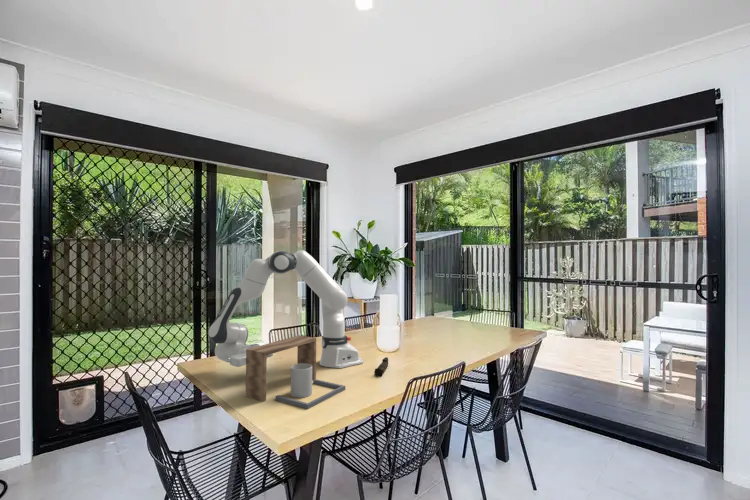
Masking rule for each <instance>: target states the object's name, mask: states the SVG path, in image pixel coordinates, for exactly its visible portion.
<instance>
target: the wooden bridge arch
mask: <svg viewBox="0 0 750 500" xmlns="http://www.w3.org/2000/svg"><path fill="white" fill-rule="evenodd" d="M296 347H297V360H296V364H310V365H312V381H313V380H314V379H317V337H312V336H306V335H296V336H292V337H288V338H285V339H280V340H276V341H274V342H269V343H265V344H262V345H260V346H257V347H253V348H249V349H246V365H245V397H246V398H250V399H252V400H256V401H259V402H263V403H264V402H266V401H267V360H268V358H267V355H269V354H276V353H280V352H282V351H287V350H290V349H293V348H296Z"/></svg>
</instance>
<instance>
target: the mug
mask: <svg viewBox="0 0 750 500" xmlns="http://www.w3.org/2000/svg"><path fill="white" fill-rule="evenodd" d="M289 394H290V397H293V398H295V399H296V398H297V399H298V398H299V399H302V398H307V397H310V396H312V394H313V380H312V365H310V364H297V363H296V364H293V365H291V366H290V393H289Z"/></svg>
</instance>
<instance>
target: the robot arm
mask: <svg viewBox="0 0 750 500" xmlns="http://www.w3.org/2000/svg"><path fill="white" fill-rule="evenodd" d="M290 271H295V272H296V274H298V276H299V277H300V278H301V279H302V280H303V281H304V282H305V283H306V285H307V286H308V287H309V289H311V290H312V292H314V294H316V295H317V297H318V298H320V300H321V312H322V336H321V347H322V349H321V357H320V361H319V364H318V365H320V366H322V367H324V368H336V369H343V368H348V367H353V366H356V365H359V364H360V365H361V364H363V363H364V360H363V358H361V357H360V356H359V351H358V349H357V348H356V347H354V346H353V345H352V344H351V343H349V342H351V340H352V337H351V336H348V335H345V333H346V332H345V330H346V329H345V325H346V324H345V321H346V320H345V316H344V309H345V308H346V307H347V305H348V300H349V298H348V295H347V293H346V292H345V291H344V289H342V287H341V286H340V285H339V284H338V283H337V282H336V281H335V280H334V279H333V278H332V277H331V276H330V275H329V274H328V273H327V272H326V271H325V269H324V268H323V267H322V266H321V265H320V264H319V263H318V261H317V260H316V259H315V258H314V257H313V256H312V255H311V254H310V253H308V252H307V251H305V250H303V249H301V250H298V251H295V252H294V253H290V252H287V251H284V250H278V251H274V252H273V253H272V254H271V255H270V256H268V257H267V258H266V259H264V258H255V259H253V260H252V261H250V264H249V265H248V267H247V269H246V271H245V273H244V275H243V278H242V280H241V282H240V283H239V284H238V286H237V287H236V288H233V289H232V290H231V291H230V293H229V295H228V296H227V298H226V299H225V301H224V303H223V305H222V307H221V309H220V311H219V312H218V314H217V316H216V318H215V319H214V321H213V322H212V323H211V324H210V326H209V327H208V330H207V335H208V338H209V340H210V341H211V343H213V344H215V345H216V346H215V348H214V354H215V357H217V358H218V360H221V361H223V362H225V363H229V364H230V366H232V367H235V368H240V367H243V366H246V349H249V348H253V347H257V346H261V345H260V343H254V344H246V343H247V341H248V338H249V330H248V327H247V326H246V325H245V324H243V323H238V322H230V320H231V319H232V317H233V314H234V313H235V311H236V310H237V308H238V306H239V305H240V304H242V303H245V302H248V301H253V300H256V299H258V298H260V297H261V296H262V295H263V293H264V291H265V289H266V286H267V283H268V280H269V277H271V275H272V274H280V275H282V274H285V273H288V272H290ZM273 354H274V353H273ZM273 354H269V355H267V359H268V358H270V357H273Z"/></svg>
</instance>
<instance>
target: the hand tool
mask: <svg viewBox="0 0 750 500" xmlns="http://www.w3.org/2000/svg"><path fill="white" fill-rule="evenodd" d="M387 367H388V368H389V357H387V356H385V357H384V358H383V359H382V362H381V363H380V364H379V366H377V368H374V372H373V373H374V376H375V375H376V376H375V377H379V376H380V377H382V376H383V375H384V372H385V371H386V369H388V368H387Z"/></svg>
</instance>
